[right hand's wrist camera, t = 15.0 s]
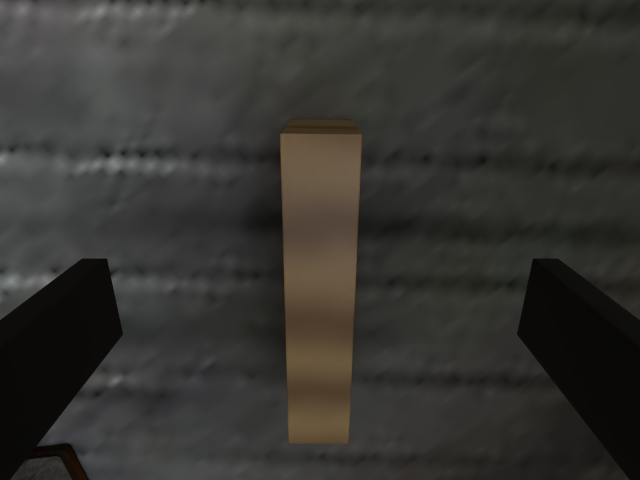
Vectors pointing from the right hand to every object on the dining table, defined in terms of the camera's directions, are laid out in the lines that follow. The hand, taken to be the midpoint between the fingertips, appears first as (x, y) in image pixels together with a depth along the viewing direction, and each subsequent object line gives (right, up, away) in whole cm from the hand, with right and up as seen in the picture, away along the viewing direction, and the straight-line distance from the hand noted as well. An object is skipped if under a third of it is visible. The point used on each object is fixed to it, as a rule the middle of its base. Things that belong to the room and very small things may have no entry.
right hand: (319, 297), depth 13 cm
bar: (0, 0, +24) cm, 24 cm away
